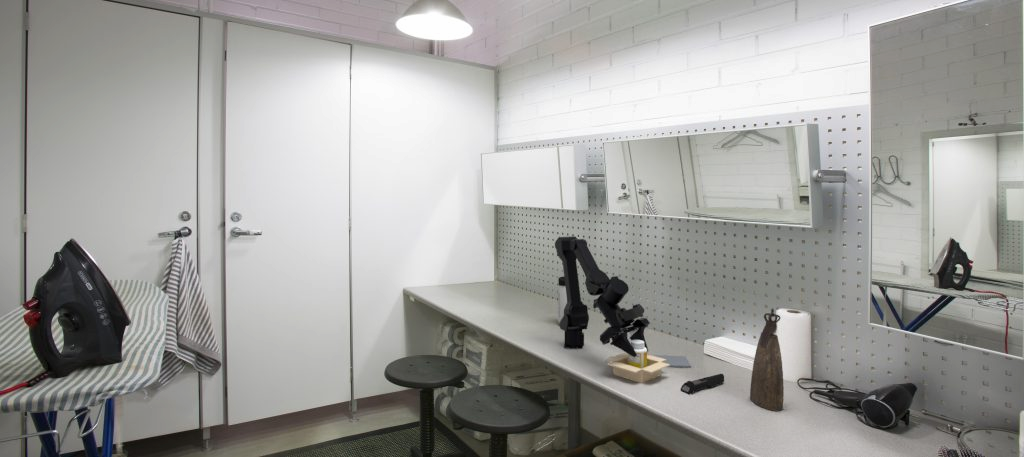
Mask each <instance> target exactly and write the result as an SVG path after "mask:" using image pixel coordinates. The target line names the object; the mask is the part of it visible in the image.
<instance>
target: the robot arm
mask: <svg viewBox="0 0 1024 457" xmlns="http://www.w3.org/2000/svg"><path fill="white" fill-rule="evenodd" d="M554 248H555V249H556V254H557V256H558V258H559V259H560V261H561V262H562V268H563V277H564V278H565V287H566V295H567V304H566V306H565V308H564V316H563V318H562V319H561V321H560V323H559V324H560V325H559V324H558V325H559V329H560V330H561V331H563V332H564V344H563V349H583V348H584V346H585V332H583V330H587V329H588V325H589V320H590V316H589V311H588V306H587V304H584V302H583V301H582V297H581V291H580V283H579V273H578V272H579V271H578V266H577V261H578V262H579V265H580V268H581V269H582V271H583V274H584V276H585V281H584V284H585V288H586V291H587V293H588V294H589V295H590V296H593V297H595V296H598V297H597V298H595V299H593V303H592V304H593V305H592V307H593V309H597V308H598V309H599V311H600V313H601V314H602V315H603V317H604V318H605V319H604V320H603V322H604V323H605V324H609V327H607V328H606V329H605V330H604V331H603V332H601V334H600V335H599V340H600V342H601V344H602V345H604V346H605V345H607V344H609V345H611V346H614V347H616V348H618V349H620V350H622V352H624V353H625V352H626V353H628V354H630V355H631V356H633V357H636V356H637V354H636V352H635V350H634V349H633V347H632V345H631V341H632V340H642V341H644V345H645V346H644V347H645V348H647V353H648V352H649V348H648V345H647V342H646V339H645V334H644V332H645V330H646V328H647V327H648V326H649V325H650V324H651V322H650V321H649V320H648V318H647V317H644V313H645V308H644V307H643V306H642V305H641V304H640V303H637V304H634V305H632V308H629V309H626V308H625V307H622V308H621V306H620V305H619V304H620V303H621V301H623V299H624V298H625V297H626V295H627V293H628V292H629V285H628V283H626V282H625V281H624V280H622V279H620V278H619V277H618V276H619V275H618V276H617V275H615V276H614V275H613V276H611V277H609V276H608V274H607V273H606V272H604V271H603V270H601V269H600V268H599V266H598V264H597V262H596V259H595V258H594V257H593V253H591V250H590V249H589V247H588V241H587V239H584V238H577V237H576V236H575V235H573V236H571V235H570V236H558V237H557V240H555V242H554ZM628 333H629V334H630V336H629V339H628ZM630 340H631V341H630Z"/></svg>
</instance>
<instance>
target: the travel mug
mask: <svg viewBox="0 0 1024 457" xmlns="http://www.w3.org/2000/svg"><path fill="white" fill-rule="evenodd" d="M557 280H558V282H557V283H558V287H557V288H558V289H557V290H558V291H557V295H558V296H557V298H558V299H557V303H558V304H557V305H558V306H557V308H558V309H557V310H558V312H557V314H558V315H557V316H558V323H557V324H558V325H559V326H560V324H559V323H560V321H561V319H562V318H563V316H564V308H565V306H566V304H567V295H566V287H565V278H564V276H560V277H558V279H557Z"/></svg>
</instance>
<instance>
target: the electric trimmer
mask: <svg viewBox="0 0 1024 457" xmlns="http://www.w3.org/2000/svg"><path fill="white" fill-rule="evenodd" d="M722 383H725V375H724V374H723V373H718V374H714V375H711V376H706V377H702V378H698V379H695V380H688V381H686V382H684V383H683V384H682V385H681V387H680V392H682V393H684V394H686V395H693V394H694V392H698V391H700V390H701V391H702V390H704V389H712V388H714V387H716V386H719V385H720V384H722Z"/></svg>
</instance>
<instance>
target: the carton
mask: <svg viewBox="0 0 1024 457" xmlns="http://www.w3.org/2000/svg"><path fill="white" fill-rule="evenodd" d="M606 361H608V362H609V363H608V364H607V365H608V366H610V367H613V375H614V376H617V377H621V378H625V379H628V380H631V381H634V382H637V383H640V384H643V383H646V382H648V381H650V380H653V379H654V378H657V377H659V376H661V375H662V370H663V369H665V368H669V367H668V366H670V364H667V363H663V362H665V361H666V359H663V358H659V357H655V356H654V355H650V354H647V367H645V368H642V369H641V368H637V367H634V366H630V365H628V353H626V352H625V351H624V352H622V353H619V354H617V355H614V356H610V357H609V358H606Z"/></svg>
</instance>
